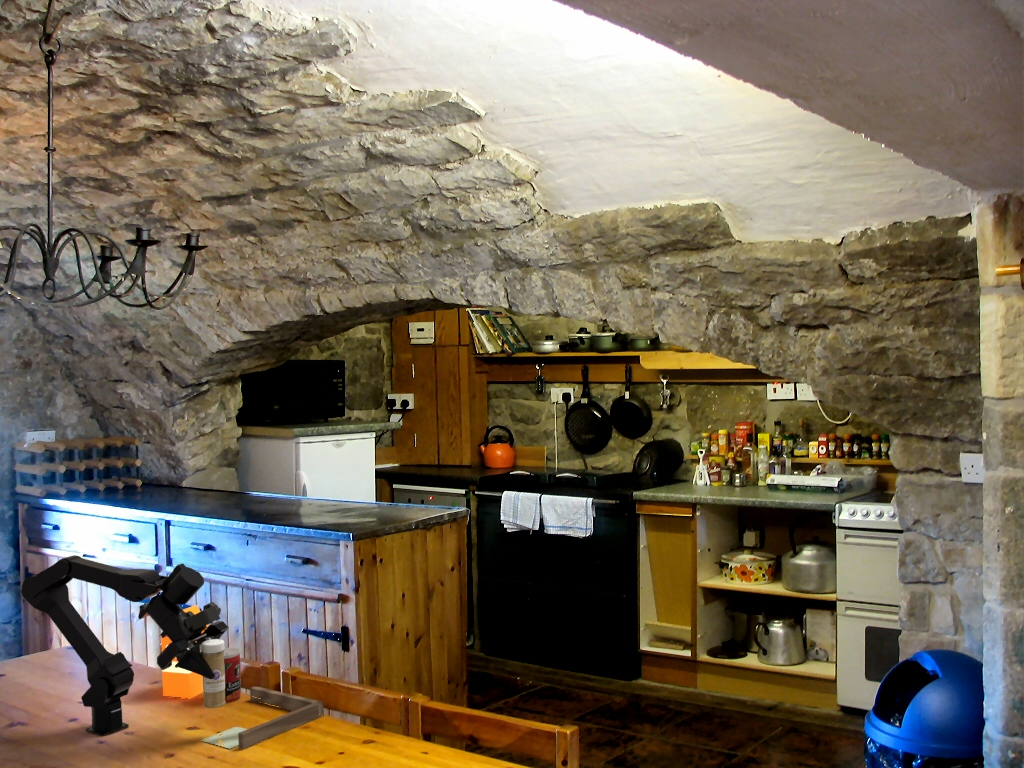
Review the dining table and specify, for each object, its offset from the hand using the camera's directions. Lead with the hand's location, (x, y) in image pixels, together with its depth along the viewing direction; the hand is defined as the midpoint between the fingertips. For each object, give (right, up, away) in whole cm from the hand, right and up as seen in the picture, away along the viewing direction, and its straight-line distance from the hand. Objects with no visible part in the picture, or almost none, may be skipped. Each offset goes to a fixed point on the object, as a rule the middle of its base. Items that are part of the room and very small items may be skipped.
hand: (219, 674), depth 198 cm
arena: (+4, -13, +8) cm, 15 cm away
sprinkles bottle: (-1, -7, 0) cm, 7 cm away
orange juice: (-17, -14, +31) cm, 38 cm away
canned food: (-7, -14, +25) cm, 29 cm away
